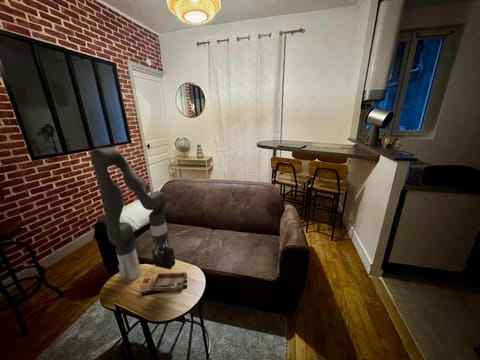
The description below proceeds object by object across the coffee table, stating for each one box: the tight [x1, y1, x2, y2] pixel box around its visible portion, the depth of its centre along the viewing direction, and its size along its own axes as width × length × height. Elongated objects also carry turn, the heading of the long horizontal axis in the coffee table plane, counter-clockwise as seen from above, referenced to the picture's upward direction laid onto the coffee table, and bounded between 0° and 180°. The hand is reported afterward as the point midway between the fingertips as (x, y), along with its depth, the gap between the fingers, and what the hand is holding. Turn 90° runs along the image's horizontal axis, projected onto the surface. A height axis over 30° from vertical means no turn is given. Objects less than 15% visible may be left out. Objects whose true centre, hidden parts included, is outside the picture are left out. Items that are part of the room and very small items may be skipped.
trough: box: [150, 271, 188, 293], centre depth 106 cm, size 16×10×3 cm, turn 90°
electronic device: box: [151, 247, 176, 270], centre depth 101 cm, size 4×10×10 cm, turn 73°
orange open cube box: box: [139, 276, 155, 293], centre depth 103 cm, size 5×5×5 cm
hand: (164, 259), depth 101 cm, fingers closed on electronic device, 3 cm apart
